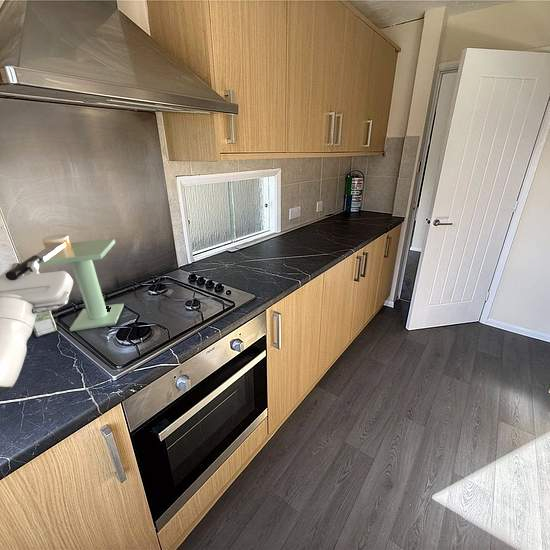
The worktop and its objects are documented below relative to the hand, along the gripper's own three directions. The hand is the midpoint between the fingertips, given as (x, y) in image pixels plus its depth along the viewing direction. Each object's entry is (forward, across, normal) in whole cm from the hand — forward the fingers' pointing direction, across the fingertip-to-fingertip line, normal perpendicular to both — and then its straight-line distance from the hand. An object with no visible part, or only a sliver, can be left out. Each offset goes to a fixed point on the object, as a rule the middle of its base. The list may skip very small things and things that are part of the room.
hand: (25, 264), depth 67 cm
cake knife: (+5, 0, +4) cm, 6 cm away
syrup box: (+6, +15, +40) cm, 43 cm away
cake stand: (+10, 0, +42) cm, 43 cm away
